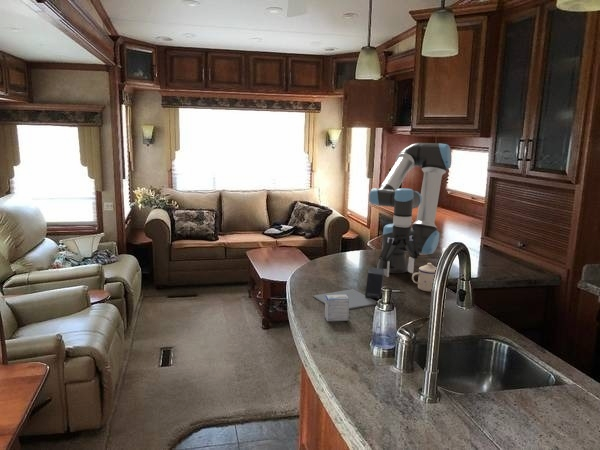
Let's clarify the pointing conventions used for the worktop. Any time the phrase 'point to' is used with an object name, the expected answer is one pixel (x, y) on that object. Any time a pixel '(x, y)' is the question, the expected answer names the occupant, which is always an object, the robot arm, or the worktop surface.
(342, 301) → the medicine box
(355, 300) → the slate mat
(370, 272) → the small box
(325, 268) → the worktop surface
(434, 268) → the teacup with lid
